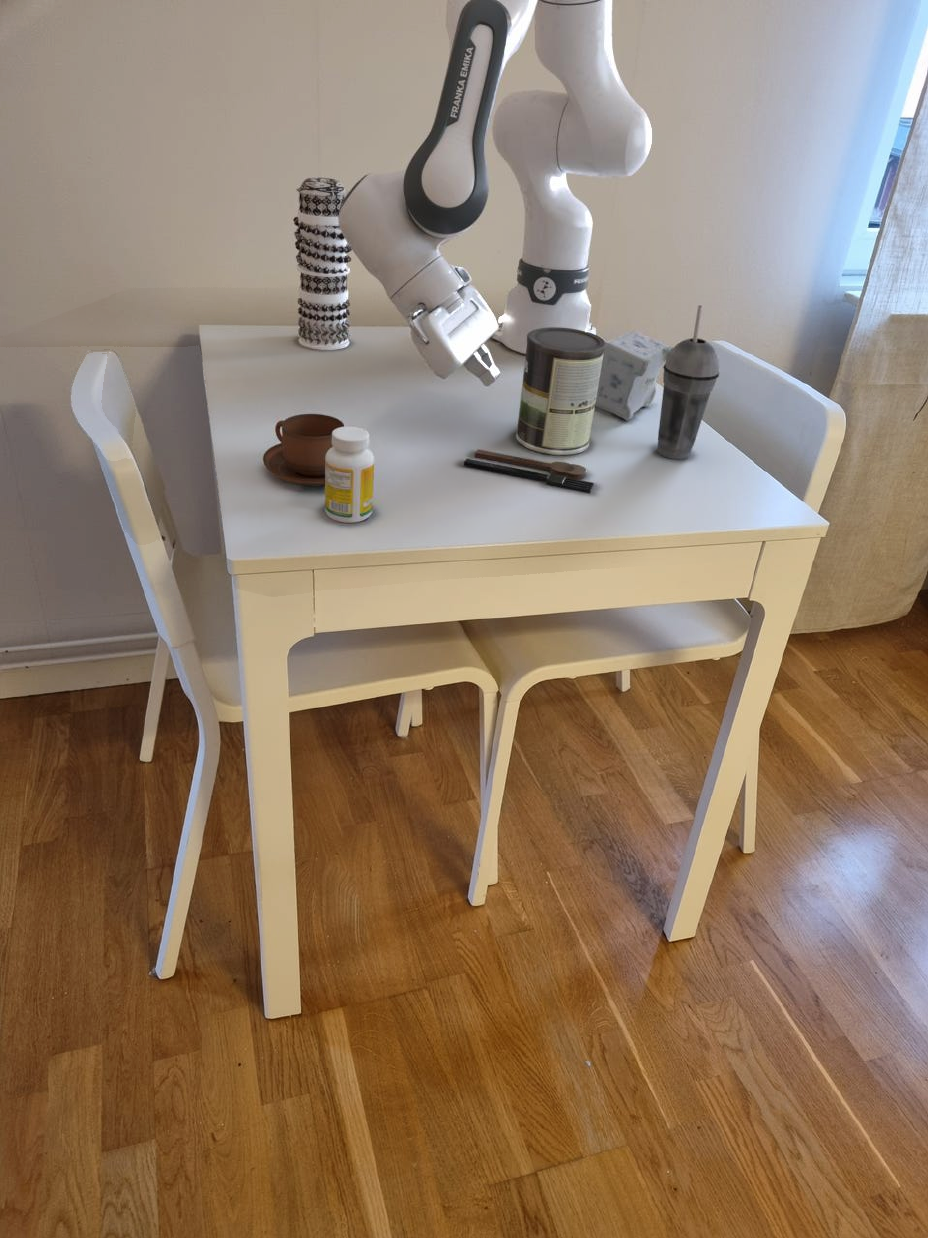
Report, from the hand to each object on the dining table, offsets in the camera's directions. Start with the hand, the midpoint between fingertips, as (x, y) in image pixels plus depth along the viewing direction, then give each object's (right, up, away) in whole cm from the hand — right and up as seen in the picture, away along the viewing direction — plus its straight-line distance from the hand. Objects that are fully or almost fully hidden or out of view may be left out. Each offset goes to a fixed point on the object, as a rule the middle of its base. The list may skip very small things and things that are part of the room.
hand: (494, 380), depth 126 cm
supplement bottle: (-17, -20, -21) cm, 34 cm away
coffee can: (+8, -8, +2) cm, 11 cm away
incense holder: (+20, 0, +15) cm, 25 cm away
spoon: (+5, -12, -6) cm, 14 cm away
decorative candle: (-28, +14, +31) cm, 44 cm away
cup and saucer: (-22, -15, -12) cm, 30 cm away
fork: (+4, -14, -8) cm, 17 cm away
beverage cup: (+25, -10, +2) cm, 27 cm away
